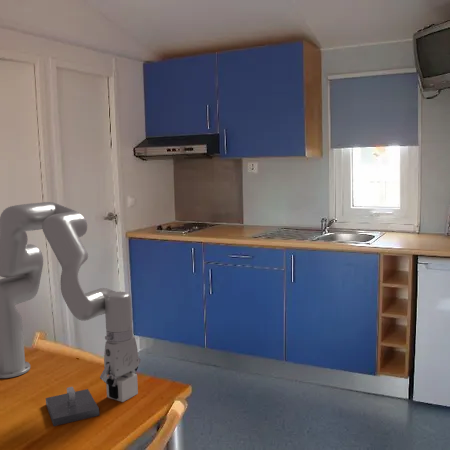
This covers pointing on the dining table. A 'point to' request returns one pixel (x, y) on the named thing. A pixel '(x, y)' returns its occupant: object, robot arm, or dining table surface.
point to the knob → (125, 386)
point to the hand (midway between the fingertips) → (122, 392)
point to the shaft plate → (71, 406)
